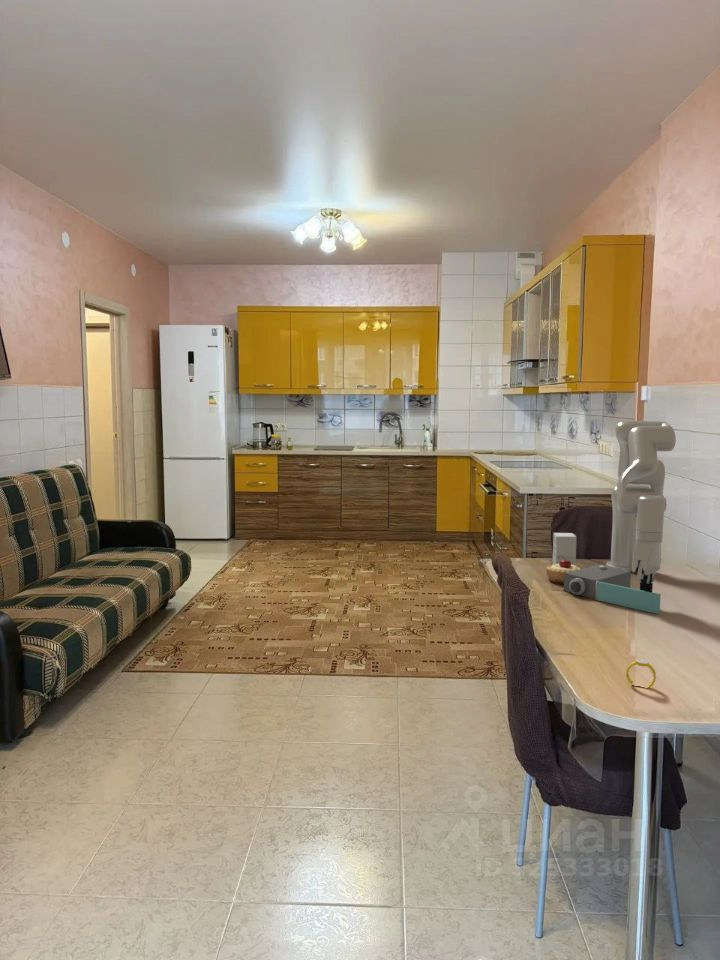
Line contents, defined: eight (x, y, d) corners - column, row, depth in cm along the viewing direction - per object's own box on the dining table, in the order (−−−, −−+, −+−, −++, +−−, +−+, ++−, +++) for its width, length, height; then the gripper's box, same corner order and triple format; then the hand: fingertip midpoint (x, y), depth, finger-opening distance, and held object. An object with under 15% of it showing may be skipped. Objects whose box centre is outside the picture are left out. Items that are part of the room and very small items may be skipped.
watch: (654, 687, 152) (658, 662, 151) (653, 692, 150) (657, 666, 149) (625, 680, 155) (629, 655, 154) (624, 685, 152) (627, 659, 151)
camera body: (598, 581, 241) (599, 562, 240) (630, 588, 232) (631, 569, 231) (559, 592, 227) (559, 571, 226) (591, 600, 218) (592, 579, 217)
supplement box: (571, 565, 265) (573, 532, 263) (575, 569, 257) (577, 536, 256) (551, 564, 265) (553, 532, 264) (555, 569, 258) (556, 536, 257)
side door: (659, 613, 204) (660, 594, 204) (657, 614, 203) (659, 594, 203) (596, 598, 219) (597, 581, 218) (594, 599, 218) (595, 581, 217)
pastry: (569, 588, 233) (570, 563, 232) (539, 581, 242) (540, 556, 241) (588, 581, 241) (589, 556, 240) (558, 574, 250) (559, 550, 249)
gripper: (647, 531, 218) (644, 588, 220) (625, 537, 207) (622, 597, 210) (671, 534, 212) (668, 593, 214) (650, 541, 202) (646, 602, 204)
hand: (645, 594), depth 212 cm, fingers closed
